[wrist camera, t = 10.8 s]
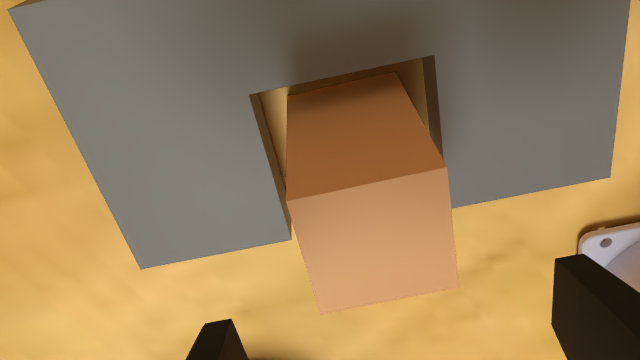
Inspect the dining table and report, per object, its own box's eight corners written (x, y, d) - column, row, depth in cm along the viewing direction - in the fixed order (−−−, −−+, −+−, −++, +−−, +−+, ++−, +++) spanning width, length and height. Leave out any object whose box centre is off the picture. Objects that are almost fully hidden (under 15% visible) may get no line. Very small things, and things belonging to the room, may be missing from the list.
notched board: (605, -137, 15) (646, -138, 13) (583, 151, 20) (610, 177, 19) (37, -5, 16) (7, 9, 14) (152, 237, 21) (140, 269, 20)
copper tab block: (395, 71, 18) (447, 167, 12) (408, 165, 20) (459, 287, 14) (287, 96, 18) (285, 201, 12) (311, 186, 20) (320, 314, 14)
